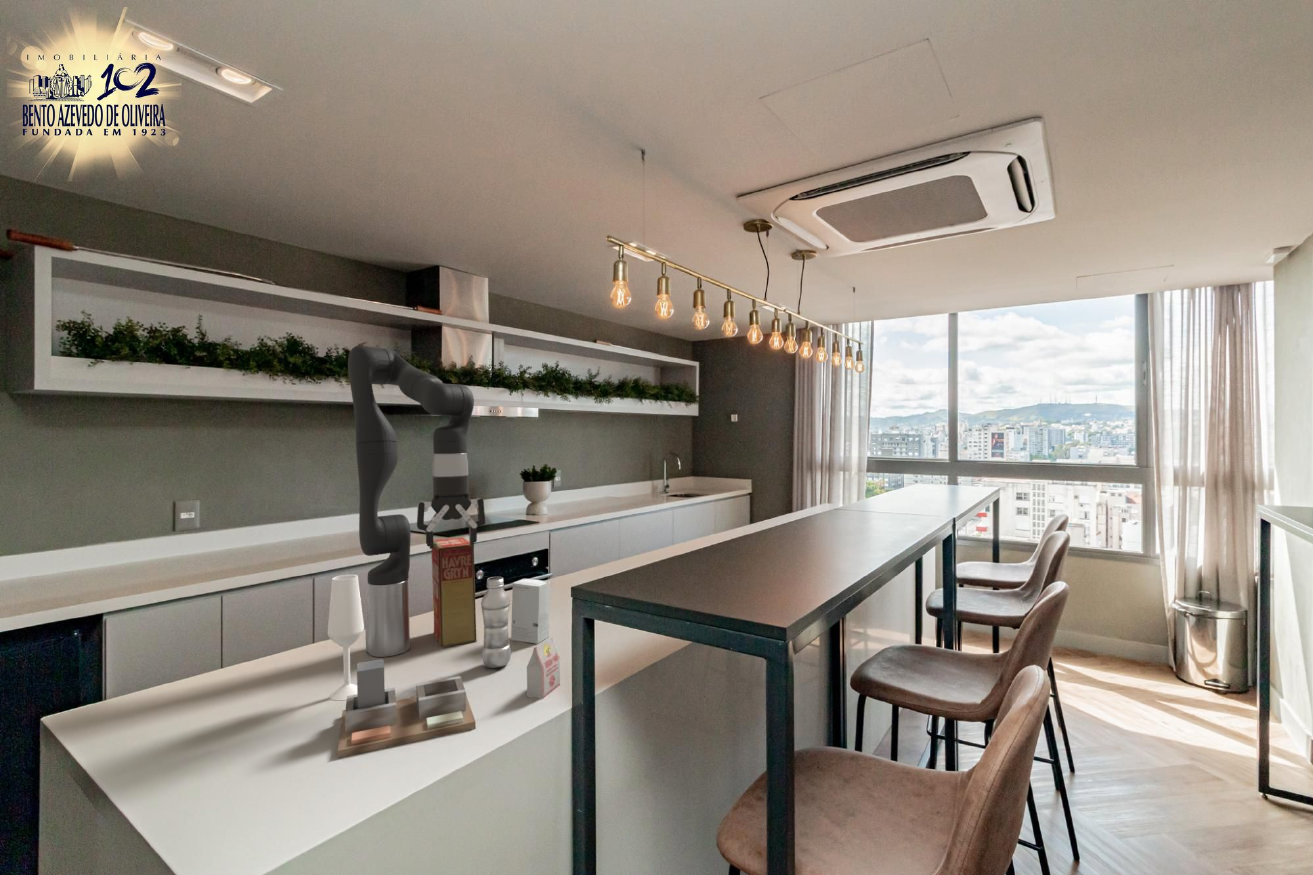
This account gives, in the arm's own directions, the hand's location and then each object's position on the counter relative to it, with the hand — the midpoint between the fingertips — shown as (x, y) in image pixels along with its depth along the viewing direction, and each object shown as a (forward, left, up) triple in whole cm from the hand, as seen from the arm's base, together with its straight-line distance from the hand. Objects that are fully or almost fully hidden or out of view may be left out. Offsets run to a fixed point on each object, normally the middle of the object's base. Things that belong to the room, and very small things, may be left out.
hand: (451, 546), depth 134 cm
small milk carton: (+24, -2, -28) cm, 37 cm away
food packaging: (-15, +19, -28) cm, 37 cm away
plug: (+2, -25, -27) cm, 37 cm away
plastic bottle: (+7, +6, -28) cm, 30 cm away
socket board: (+7, -22, -28) cm, 36 cm away
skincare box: (+5, +24, -28) cm, 37 cm away
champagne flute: (-14, -16, -28) cm, 35 cm away
